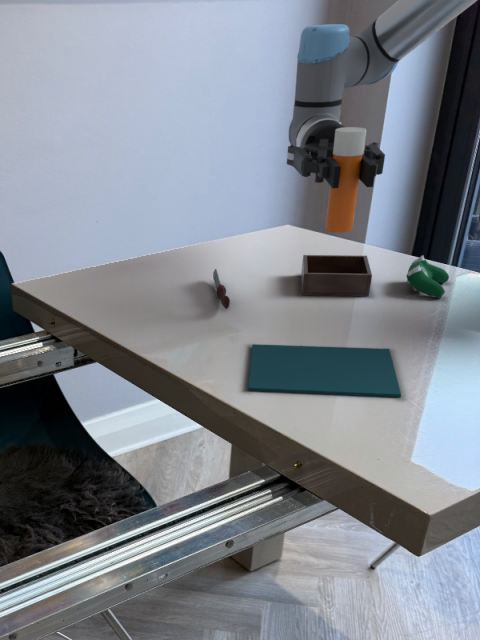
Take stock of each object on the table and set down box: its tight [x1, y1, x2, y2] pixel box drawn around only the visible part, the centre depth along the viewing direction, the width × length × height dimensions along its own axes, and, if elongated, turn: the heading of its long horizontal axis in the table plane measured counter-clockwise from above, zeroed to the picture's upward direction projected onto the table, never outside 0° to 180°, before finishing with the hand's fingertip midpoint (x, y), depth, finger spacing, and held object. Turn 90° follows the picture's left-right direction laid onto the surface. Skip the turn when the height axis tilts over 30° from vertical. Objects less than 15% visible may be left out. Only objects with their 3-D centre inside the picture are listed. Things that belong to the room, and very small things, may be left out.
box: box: [300, 254, 373, 297], centre depth 127 cm, size 10×10×3 cm
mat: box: [247, 343, 402, 398], centre depth 101 cm, size 18×14×1 cm
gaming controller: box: [406, 255, 450, 299], centre depth 123 cm, size 9×4×6 cm
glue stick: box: [324, 126, 367, 234], centre depth 109 cm, size 4×4×13 cm
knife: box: [212, 268, 231, 310], centre depth 125 cm, size 18×2×3 cm, turn 179°
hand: (354, 176), depth 103 cm, fingers closed on glue stick, 4 cm apart
